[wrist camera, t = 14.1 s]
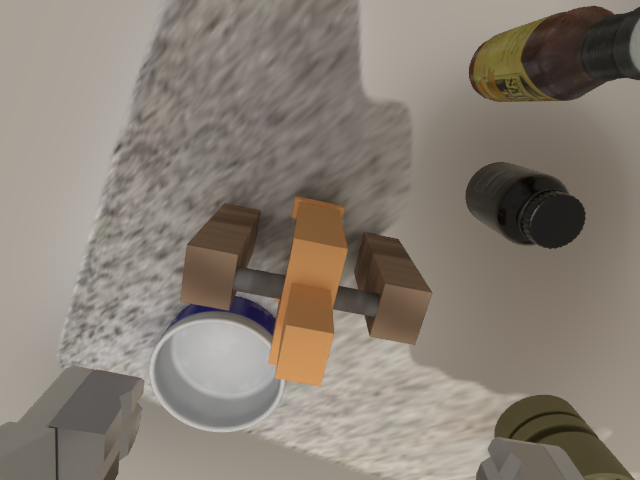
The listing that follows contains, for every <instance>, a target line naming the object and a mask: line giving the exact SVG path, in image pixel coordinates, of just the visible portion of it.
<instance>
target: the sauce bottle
mask: <svg viewBox="0 0 640 480" xmlns="http://www.w3.org/2000/svg"><path fill="white" fill-rule="evenodd" d="M469 78H470V81H471V84H472V87H473V88H474V90H475V91H476V92H478V93H479V94H480V95H481V96H483V97H484V98H488V99H490V100H493V101H498V102H509V101H510V102H512V101H568V100H573V99H577V98H579V97H581V96H583V95H584V94H586V93H588V92H589V91H591V90H593V89H595V88H596V87H598V86H600V85H602V84H604V83H605V82H607V81H612V80H615V79H618V78H631V79H635V80H640V7H639V8H637V9H635V10H634V11H631V12H628V13H625V14H616V15H615V14H613V13H612V12H611V11H609V10H606V9H604V8H602V7H597V6H590V7H582V8H577V9H573V10H571V11H568V12H563V13H558V14H554V15H551V16H549V17H545V18H543V19H540V20H537V21H534V22H531V23H529V24H526V25H523V26H520V27H517V28H514V29H511V30H508V31H506V32H503V33H500V34H498V35H496V36H494V37H492V38H491V39H490V40H488V41H486V42H485V43H483V44H482V45H481V46H480V47H479V48H478V49H477V51H476V52H475V54H474V56H473V58H472V60H471V63H470V66H469Z"/></svg>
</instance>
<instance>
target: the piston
mask: <svg viewBox="0 0 640 480" xmlns="http://www.w3.org/2000/svg"><path fill="white" fill-rule="evenodd" d="M496 437H500V438H506V439H512V440H519V441H525V442H532V443H536V444H537V443H540V444H546V445H553V446H559V447H560V448H561V449H563V450H564V451H565V452H566V453H567V455H568V456H569V458H570V459H571V461H572V462H573V463H574V465H575V466H576V468H577V469H578V471H579V472H580V474H581V475H582V477H583V478H584V479H585V480H635V479H634V478H633V477H632V476H631V475H630V474H629V472H628V471H627V470H626V469H625V468H624V467H623V465H622V464H621V463H620V462H619V461H618V460H617V458H616V457H615V456H614V455H613V454H612V453H611V451H610V450H609V449H608V448H607V447H606V446H605V444H604V443H603V442H602V441H601V440H599V438H598V436H597V435H596V434H595V433H594V432H593V430H592V429H591V428H590V427H589V426H588V425H587V424H586V422H585V421H584V420H583V419H582V418H581V417H580V415H579V414H578V413H577V412H576V411H575V410H574V408H573V407H572V406H571V405H570V404H569V403H568V402H566V401H565V400H563V399H561V398H559V397H555V396H551V395H537V396H531V397H527V398H525V399H522V400H520V401H518V402H516V403H514V404H513V405H511V406H510V407H509V408H508V409H507V410H505V412H504V413H503V414H502V415H501V416H500V418H499V420H498V422H497V424H496V427H495V438H496Z"/></svg>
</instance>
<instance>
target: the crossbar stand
mask: <svg viewBox="0 0 640 480" xmlns="http://www.w3.org/2000/svg"><path fill="white" fill-rule="evenodd" d="M259 215H260V211H259V210H254V209H249V208H244V207H239V206H235V205H230V204H225V203H224V205H223V206H222V207H221V208H220V209H219V210H218V211H217V212H216V213H215V214H214V216H213V217H212V218H211V219H210V220H209V221H208V222H207V223H206V224H205V225H204V227H203V228H202V229H201V230H200V231H199V232H198V233H197V234H196V235H195V236H194V238H193V239H192V240H191V241H190V242H189V243H188V244H187V248H186V256H185V264H184V272H183V281H182V289H181V297H180V302H185V303H190V304H196V305H201V306H207V307H212V308H217V309H223V310H228V311H229V309H230V307H231V304H232V302H233V299H234V297H235V294H236V292H237V291H239V292H245V293H250V294H255V295H261V296H266V297H271V298H276V299H281V297H282V292H283V288H284V283H285V278H286V276H285V275H280V274H274V273H269V272H264V271H259V270H254V269H249V268H247V265H248V263H249V260H250V258H251V256H252V253H253V249H254V243H255V238H256V232H257V227H258V221H259ZM354 274H355V278H356V282H357V286H358V290H357V289H352V288H347V287H342V286H338V290H337V294H336V298H335V302H334V306H333V309H335V310H340V311H345V312H351V313H356V314H361V315H365V319H366V323H367V327H368V331H369V335H370V337H375V338H380V339H386V340H391V341H397V342H402V343H407V344H413V345H415V343H416V340H417V338H418V335H419V332H420V328H421V326H422V323H423V320H424V317H425V313H426V311H427V308H428V304H429V302H430V299H431V296H432V292H431V290H430V288H429V287H428V285H427V284H426V282H425V281H424V279H423V277H422V276H421V274H420V273H419V271H418V269H417V268H416V266H415V265H414V263H413V262H412V260H411V258H410V257H409V255H408V254H407V252H406V251H405V249H404V247H403V246H402V244H401V243H400V241H399V240H398V239H395V238H390V237H385V236H380V235H376V234H371V233H366V232H364V236H363V240H362V244H361V248H360V251H359V255H358V259H357V263H356V266H355V270H354Z"/></svg>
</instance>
